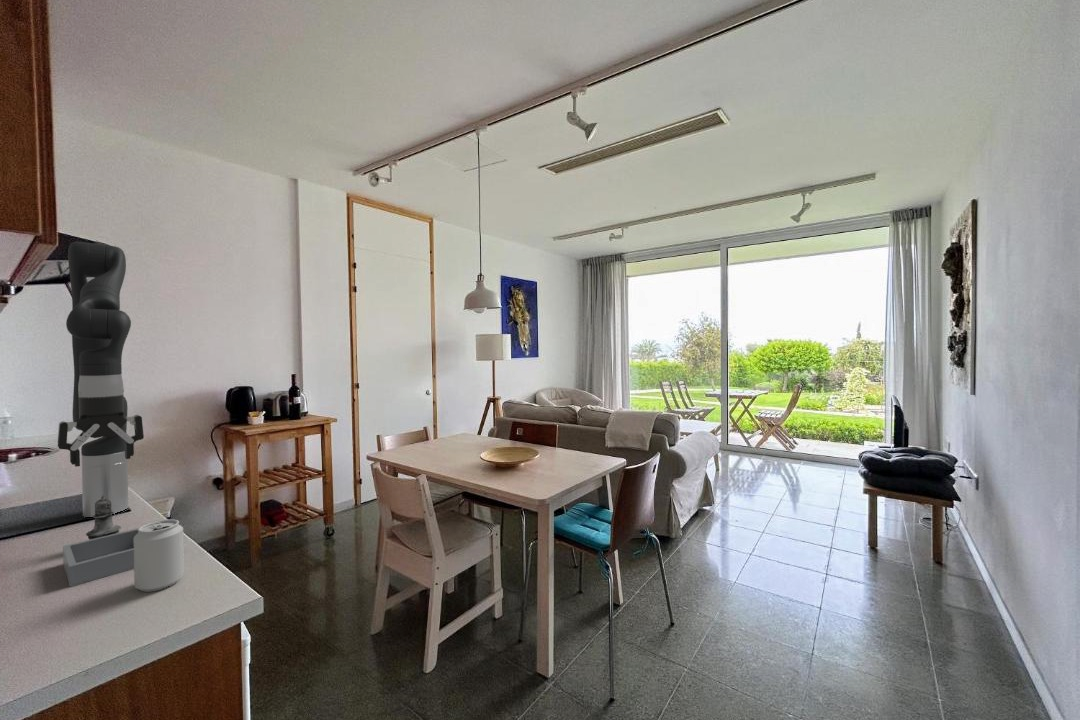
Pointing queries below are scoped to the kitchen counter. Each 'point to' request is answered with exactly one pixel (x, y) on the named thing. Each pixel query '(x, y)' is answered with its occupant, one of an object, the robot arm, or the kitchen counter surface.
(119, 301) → the robot arm
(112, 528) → the chess piece
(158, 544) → the can
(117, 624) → the kitchen counter surface
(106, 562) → the bin
